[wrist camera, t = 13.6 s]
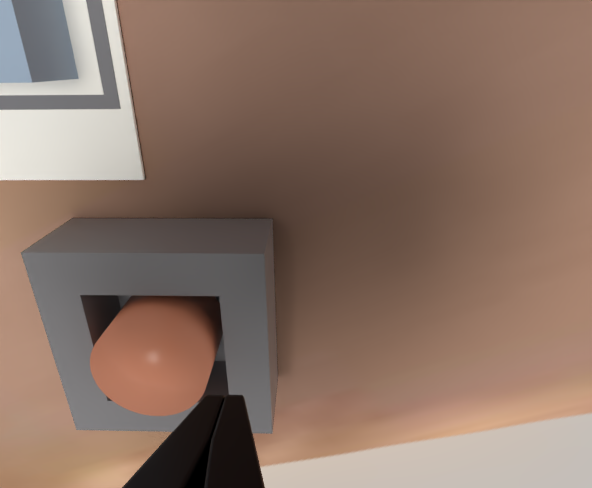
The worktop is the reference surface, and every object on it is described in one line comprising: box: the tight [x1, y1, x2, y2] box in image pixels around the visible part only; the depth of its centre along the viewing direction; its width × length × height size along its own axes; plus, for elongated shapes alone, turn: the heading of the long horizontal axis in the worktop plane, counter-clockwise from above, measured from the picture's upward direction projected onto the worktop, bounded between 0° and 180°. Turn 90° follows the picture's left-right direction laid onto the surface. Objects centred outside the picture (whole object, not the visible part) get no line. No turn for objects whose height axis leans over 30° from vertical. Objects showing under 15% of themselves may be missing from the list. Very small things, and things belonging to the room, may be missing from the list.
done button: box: [90, 295, 223, 416], centre depth 19 cm, size 5×5×4 cm
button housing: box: [21, 218, 278, 434], centre depth 20 cm, size 10×10×4 cm
